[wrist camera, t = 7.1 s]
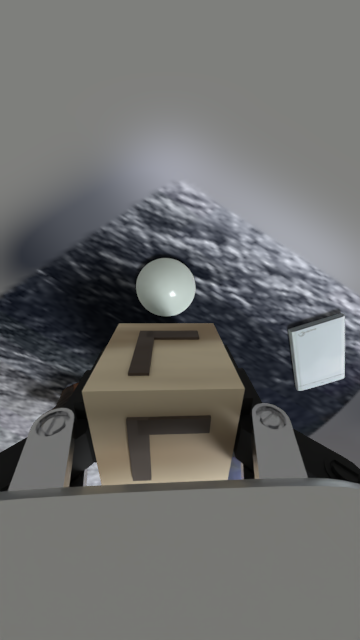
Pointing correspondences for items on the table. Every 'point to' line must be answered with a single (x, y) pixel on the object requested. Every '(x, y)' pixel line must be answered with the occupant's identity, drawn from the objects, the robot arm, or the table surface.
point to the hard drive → (318, 352)
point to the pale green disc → (165, 287)
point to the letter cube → (163, 405)
